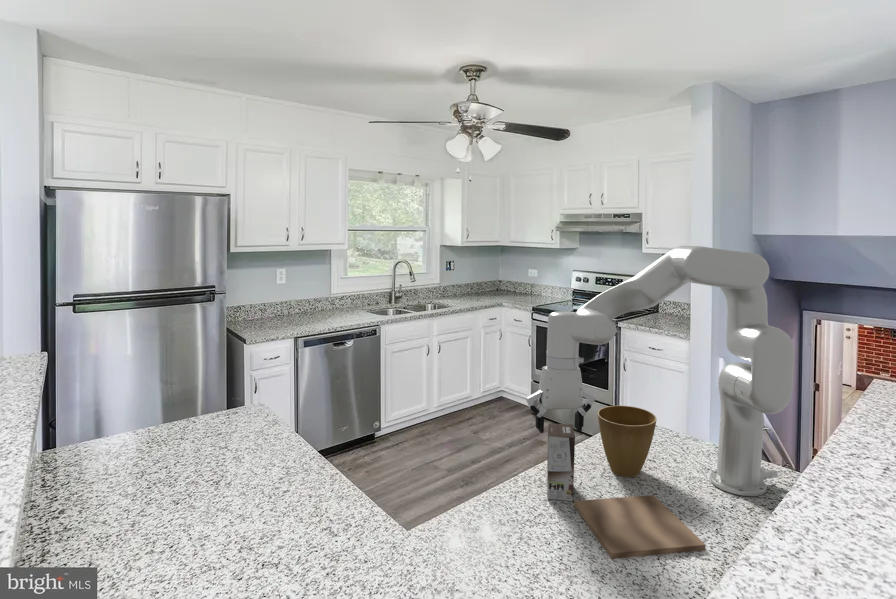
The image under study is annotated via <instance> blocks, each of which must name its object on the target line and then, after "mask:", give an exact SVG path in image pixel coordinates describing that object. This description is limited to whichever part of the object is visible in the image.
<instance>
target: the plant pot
mask: <svg viewBox="0 0 896 599" xmlns="http://www.w3.org/2000/svg"><path fill="white" fill-rule="evenodd" d="M657 419H658V418H657V416H656V415H655V414H654V413H653V412H651V411H649V410H647V409H645V408H641V407H636V406H631V405H609V406H604V407H602V408H600V409H599V410H598V411H597V421H598V426H599V433H600V437H601V442H602V446H603V451H604V454H605V458H606V459H607V462H608V466H609V468H610V471H611V472H612V473H613V474H615V475H617V476H618V477H619V476H620V477H625V478H634V477H637V476H639V475H640V472H642V470H643V467H644V465H645V463H646V461H647V457H648V454H649V452H650V448H651V446H652V442H653V438H654V434H655V430H656V424H657Z"/></svg>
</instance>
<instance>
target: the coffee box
mask: <svg viewBox="0 0 896 599" xmlns="http://www.w3.org/2000/svg"><path fill="white" fill-rule="evenodd" d="M575 442H576V435H575V427H574V425H573V424H569V423H568V424H567V423H548V424H547V458H546V459H547V465H546V466H547V467H546V468H547V470H546V471H547V472H546V473H547V474H546V478H547V479H546V481H547V482H546V483H547V484H546V485H547V487H546V488H547V491H546V492H547V493H546V494H547V495H546V496H547V497H546V498H547V499H548V500H556V501H565V502H573V501H574V482H575V481H574V480H575V478H574V477H575V454H576V453H575V451H576V450H575V449H576V448H575V447H576V445H575V444H576V443H575Z"/></svg>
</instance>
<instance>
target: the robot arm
mask: <svg viewBox="0 0 896 599" xmlns="http://www.w3.org/2000/svg"><path fill="white" fill-rule="evenodd" d="M769 275H770V266H769V263H768V262H767V260H766V259H765V258H764V257H763V256H762V255H761V254H757V253H755V252H746V251H739V250H730V249H729V250H728V249H722V248H721V249H720V248H714V247H709V246H708V247H707V246H700V245H699V246H698V245H682V246H681V245H680V246H677V247H675V248H674V247H673V248H672V249H670V250H669V251H667V252H666V253H664V255H662V256H661V257H659V258H658V259H656V260H655V261H654V262H652V263H651V264H649V265H648V266H646V267H645V268H644V269H642V270H641V271H640V272H638V273H637V274H636V275H634V276H632V277H631V278H629V279H627V280H625V281H623V282H620V283H618V284H616V285H615V286H612V287H611V288H609V289H607V290H605V291H603V292H602V293H600V294H597V295H596V296H595V297H593V298H592V299H590V301H588V302H586V303H585V304H584V305H582V306H581V307H580V308H578V309H577V311H575V312H573V311H567V310H566V311H561V310H560V311H559V310H558V311H557V310H556V311H553V312H551V313H549V315H548V317H547V338H546V361H545V362H546V364H545V365H544V366H542V367H541V371H540V372H541V373H540V378H539V382H538V384H539V385H538V391H536V392H534V393H532V394H530V395H528V396H526V397H525V401H526V404H527V406H528V408H529V409H530V410H531V412H533V413H534V415H535V428H536V429H537V431H539V433H540V434H544V432H545V431H544V430H545V417H544V416H543V415H544V414H545V413H546V412H547V411H549V410H551V411H552V410H554V411H555V410H576V411H575V412H574V425H573V428H574V429H576V430H577V431H578V432H583V428H584V422H585V421H584V420H585V416H586V415H587V413H588V412H589V410H590V409H591V408H592V406H593V404H594V403H595V400H596V397H595V396H593V395H592V394H590V393H589V392H586V391H585V390H583V379H582V372H581V371H582V370H581V368H580V367H579V366H580V364H584V360H585V359H584V357H580V356H579V350H580V347H579V346H580V343H582V344H590V345H596V346H597V345H601V346H602V345H606V344H608V343H609V342H611V341H613V339H614V337H615V336H616V332H617V326H616V323H615V321H614V320H615V318H617V317H621V316H622V315H624V314H628V313H631V312H637V311H642V310H647V309H651V308H653V307H655V306H657V305H658V304H659V303H661V302H662V301H664V300H665V299H667V297H669V296H671V295H672V294H673V293H675V292H677V291H678V290H679V289H681V288H682V287H683V286H685V285H686V284H688V283H692V284H697V285H704V286H708V287H709V286H710V287H716V288H719V289H720V290H721V291H722V292H723V294H724V295H723V296H725V300H726V305H727V307H726V308H727V314H726V337H725V342H726V348H727V350H728V351H729V353H730V354H732V355H733V356H735V357H737V358H739V359H741V360H744V361H746V362H742V361H735V362H730V363H728V364H726V365H725V366H724V367H723V368H722V369H721V371H720V373H719V374H718V375H719V376H718V383H717V384H718V392H719V393H718V394H719V402H720V416H719V417H720V421H719V435H718V446H717V447H718V450H717V465H716V469H715V470H713V471H711V472H710V474H709V481H710V482H711V484H712V485H713V486H715V487H716V488H718V489H720V490H722V491H724V492H727V493H731V494H734V495H738V496H742V497H743V496H744V497H757V496H758V497H759V496H762V495H764V494H766V492H767V483H766V482H765V481H766V480H767V479H777V478H778V476H779V474H778V472H777V470H776V469H768V470H766V469H765V467H764V466H762V458H763V457H762V455H763V442H764V430H765V429H764V427H765V416H764V415H765V414H767V415H775V414H778V413H780V412H783V411H784V409H786V408H787V407H788V405H789V403H790V401H791V399H792V395H793V387H794V386H793V384H794V373H795V372H794V371H795V346H794V343H793V341H792V338H791V337H790V336H789V334H788V333H787V332H786V331H784V330H782V329H781V328H779V327H776V326H773V325H770V324H769V322H768V321H769V320H768V318H769V316H768V313H769V312H768V297H767V294H766V290H765V288H764V286H763V285H764V284H765V283H767V280H768V278H769ZM748 362H749V363H748ZM583 398H584V399H586V402H584V403H583ZM536 400H537V402H538V405H537V407H536V405H535V404H534V402H535V401H536ZM764 480H765V481H764Z"/></svg>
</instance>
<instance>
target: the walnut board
mask: <svg viewBox="0 0 896 599" xmlns="http://www.w3.org/2000/svg"><path fill="white" fill-rule="evenodd" d="M573 501H574V502H573V506H574V508H575V509H576V510H577V512H578V513H579V514H580V516H581V518H582V519H583V520H584V522H585V524H586V525H587V526H588V527H589V529H590V531H591V532H592V533H593V534H594V536H595V537H596V539H597V540H598V542H599V543H600V544H601V546H602V547H603V549H604V550H605V552H606V553H607V554H608V556H609V557H610V559H612V560H613V559H624V558H634V557H635V558H636V557H645V556H646V557H647V556H654V555H655V556H657V555H666V554H667V555H668V554H669V555H670V554H679V553H688V552H689V553H690V552H699V551H700V552H701V551H702V552H703V551H706V547H707V546H706V543H705V542H704V541H702V540H701V539H700V538H699V537H698V536H697V534H695V533H694V532H693V531H692V530H691V529H690V528H689V527H688V526H687V525H686V524H685V523H684V522H682V520H680V518H678V517H677V516H676V515H675V514H674V513H673V511H671V510H670V509H669V508H668V507H667V506H666V505H665V504H664V503H663V502H662V501H660V499H658V497H657V496H655V494H650V495H649V494H648V495H634V496H621V497H608V498H595V499H583V500H582V499H581V500H573Z"/></svg>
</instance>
